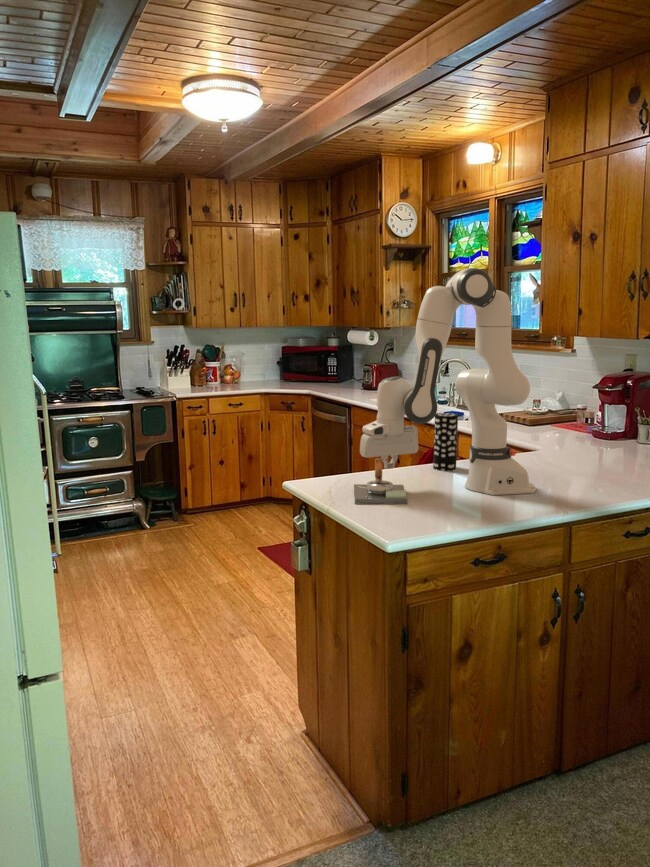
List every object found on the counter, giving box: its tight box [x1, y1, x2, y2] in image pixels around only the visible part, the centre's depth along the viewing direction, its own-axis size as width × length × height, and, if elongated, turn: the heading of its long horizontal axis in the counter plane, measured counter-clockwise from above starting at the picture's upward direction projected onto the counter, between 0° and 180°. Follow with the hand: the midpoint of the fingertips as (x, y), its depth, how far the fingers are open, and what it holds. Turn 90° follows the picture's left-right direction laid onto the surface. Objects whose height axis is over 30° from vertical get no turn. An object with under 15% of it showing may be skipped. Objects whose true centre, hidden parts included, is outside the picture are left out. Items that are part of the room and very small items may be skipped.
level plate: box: [353, 483, 409, 505], centre depth 220 cm, size 16×17×3 cm
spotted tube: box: [432, 412, 459, 472], centre depth 256 cm, size 8×8×20 cm
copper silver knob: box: [366, 458, 394, 495], centre depth 222 cm, size 8×13×8 cm, turn 179°
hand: (389, 468), depth 229 cm, fingers closed
